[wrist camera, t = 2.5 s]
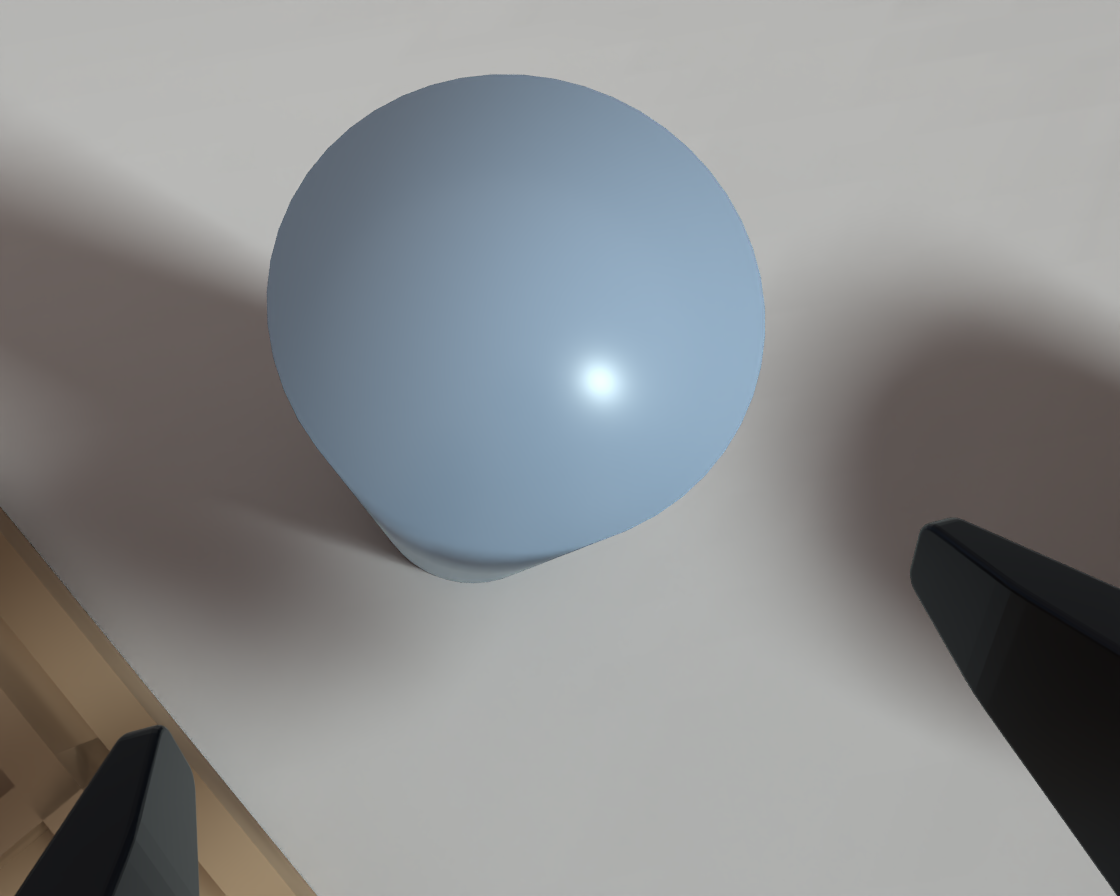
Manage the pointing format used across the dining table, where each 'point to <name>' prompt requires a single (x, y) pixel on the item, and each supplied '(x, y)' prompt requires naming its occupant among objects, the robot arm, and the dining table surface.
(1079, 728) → the robot arm
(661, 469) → the blue-grey round cylinder
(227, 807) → the wooden compartment tray
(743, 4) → the dining table surface
